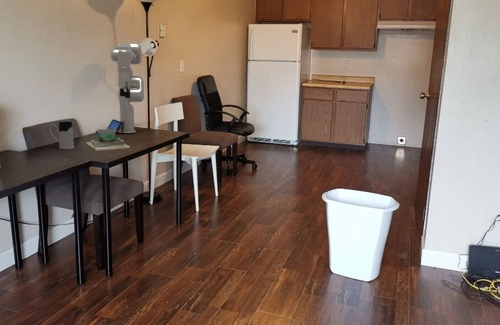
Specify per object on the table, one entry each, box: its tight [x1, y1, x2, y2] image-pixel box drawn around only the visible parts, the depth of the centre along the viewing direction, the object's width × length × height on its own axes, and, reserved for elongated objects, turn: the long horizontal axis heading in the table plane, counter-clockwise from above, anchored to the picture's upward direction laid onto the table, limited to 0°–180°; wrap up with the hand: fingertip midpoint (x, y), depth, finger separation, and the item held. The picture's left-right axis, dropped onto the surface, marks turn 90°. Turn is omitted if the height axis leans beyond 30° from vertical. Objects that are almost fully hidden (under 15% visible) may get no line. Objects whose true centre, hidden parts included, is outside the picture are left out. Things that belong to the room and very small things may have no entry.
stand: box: [85, 137, 131, 152], centre depth 282 cm, size 22×20×4 cm
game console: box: [95, 118, 122, 136], centre depth 322 cm, size 16×14×9 cm
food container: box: [96, 127, 116, 143], centre depth 280 cm, size 12×6×10 cm, turn 140°
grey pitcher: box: [49, 121, 75, 150], centre depth 273 cm, size 9×14×15 cm, turn 86°
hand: (125, 97), depth 295 cm, fingers open, 9 cm apart
